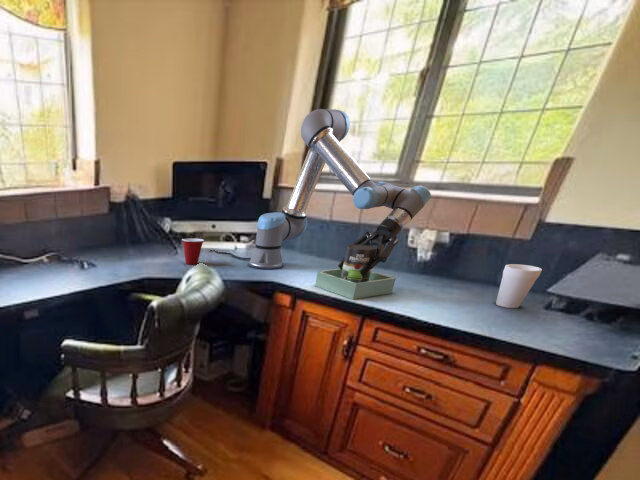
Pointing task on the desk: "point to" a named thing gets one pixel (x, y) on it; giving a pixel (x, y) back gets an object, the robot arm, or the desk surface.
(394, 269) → the desk surface
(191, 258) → the plastic cup
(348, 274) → the coffee can
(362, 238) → the robot arm
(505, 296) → the foam cup
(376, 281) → the tray
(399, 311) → the desk surface
